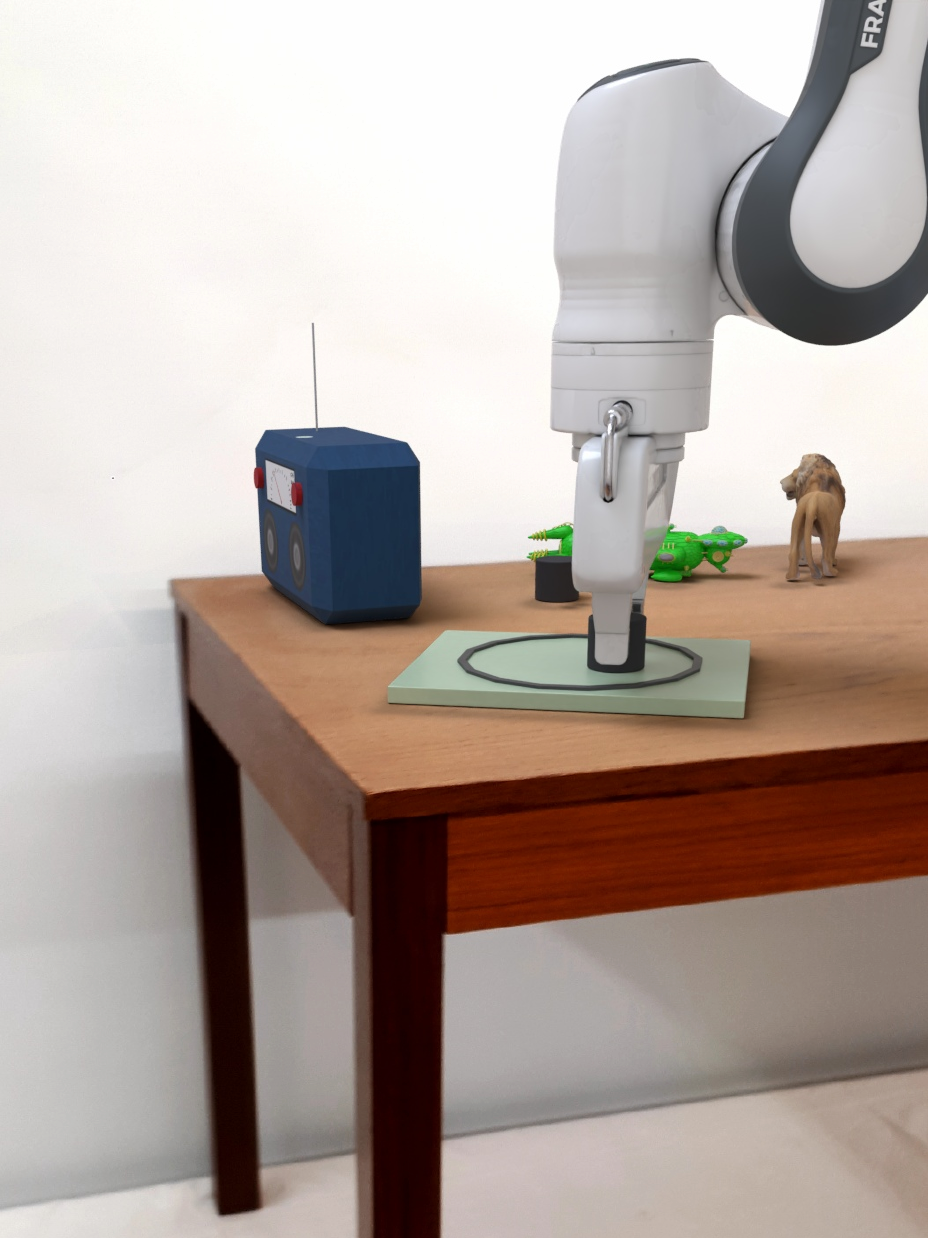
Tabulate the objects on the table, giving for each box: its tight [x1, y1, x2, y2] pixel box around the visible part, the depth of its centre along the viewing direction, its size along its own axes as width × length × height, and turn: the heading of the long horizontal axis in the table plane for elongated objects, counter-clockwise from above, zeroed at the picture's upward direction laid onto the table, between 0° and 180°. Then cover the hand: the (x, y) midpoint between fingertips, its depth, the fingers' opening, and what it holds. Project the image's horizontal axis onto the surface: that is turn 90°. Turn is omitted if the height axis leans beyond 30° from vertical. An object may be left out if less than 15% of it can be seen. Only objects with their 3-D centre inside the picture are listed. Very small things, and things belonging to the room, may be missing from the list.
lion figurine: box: [779, 452, 847, 580], centre depth 122 cm, size 15×5×9 cm, turn 171°
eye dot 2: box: [587, 612, 648, 673], centre depth 87 cm, size 3×3×3 cm
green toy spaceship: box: [526, 521, 749, 582], centre depth 122 cm, size 7×18×4 cm, turn 80°
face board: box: [387, 629, 752, 719], centre depth 89 cm, size 20×16×1 cm
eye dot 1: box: [534, 555, 580, 603], centre depth 113 cm, size 3×3×3 cm
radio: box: [253, 322, 423, 625], centre depth 110 cm, size 21×9×20 cm, turn 18°
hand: (620, 644), depth 87 cm, fingers open, 8 cm apart
